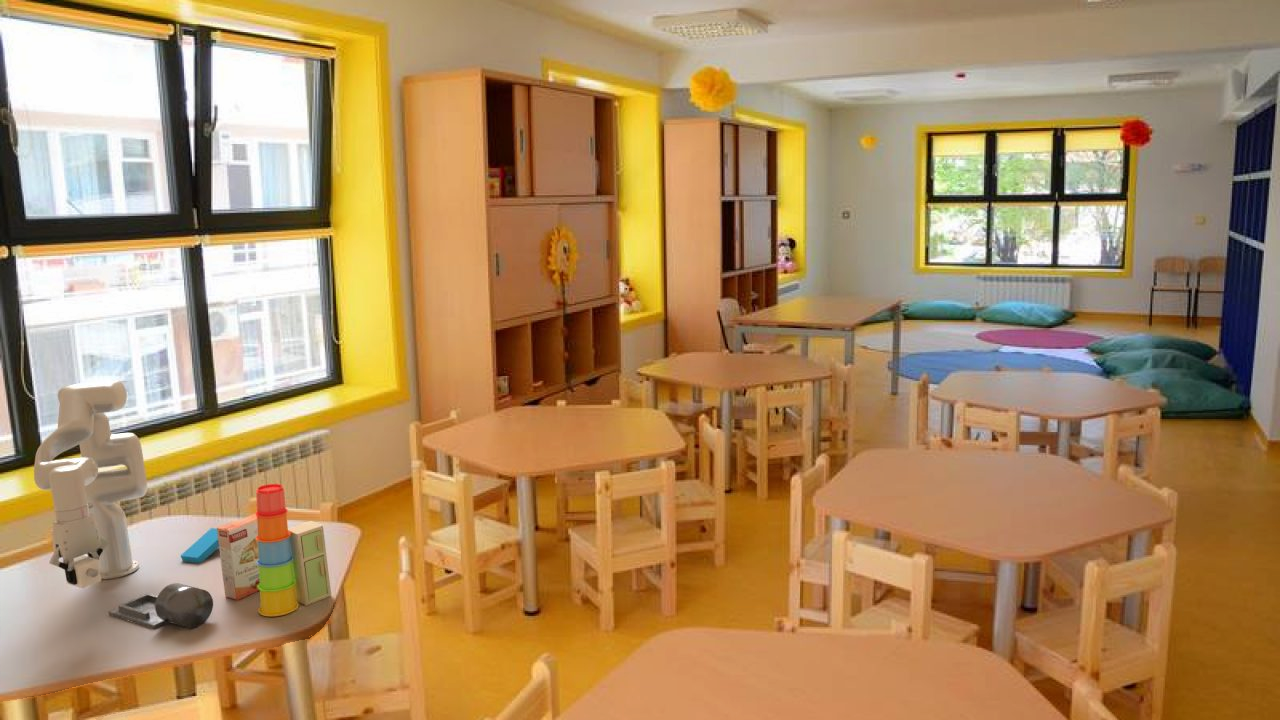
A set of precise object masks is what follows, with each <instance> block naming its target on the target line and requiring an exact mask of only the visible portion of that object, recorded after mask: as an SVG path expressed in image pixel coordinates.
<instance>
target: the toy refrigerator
mask: <svg viewBox="0 0 1280 720" xmlns="http://www.w3.org/2000/svg"><path fill="white" fill-rule="evenodd" d="M288 532H290V537H289V542H290V553H291V555H292V556H293V560H292V571H293V578H294V579H295V580H296V584H295V585H294V589H295V599H296V601H297V602H298V603H300V604H302V605H304V606H309V605H312V604H314V603H317V602H319V601H322V600H324V599H327V598H329V597H331V596H332V589H331V581H330V575H329V574H330V572H329V566H328V565H329V564H328V557H327V556H328V555H327V548H326V540H325V534H324V533H325V532H324V527H323V524H320V523H318V522H315V521H313V520H310V521H305V522H302V523H300V524H297V525H293V526H290V527H288ZM311 603H312V604H311Z"/></svg>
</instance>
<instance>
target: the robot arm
mask: <svg viewBox="0 0 1280 720" xmlns="http://www.w3.org/2000/svg"><path fill="white" fill-rule="evenodd" d="M127 398H128V397H127V390H126V387H125V385H124V383H123V382H121V381H120V380H118V379H116V380H115V379H113V380H105V381H95V382H94V381H93V382H82V383H75V384H70V385H65V386H63V387H61V388H60V389H58V391H57V400H58V403H59V407H58V418H57V429H56V430H54V431H52V432H51V434H50V435H48V436H47V437H46V438H45V439H44V440H43V441H42V443H41V444H40V445H39V447H38V448H37V451H36V453H35V457H34V458H35V459H34V466H33V467H34V469H33V480H34V484H35V485H36V486H37V488H38V489H40V490H42V491H43V490H44V491H51V497H52V503H53V508H54V509H53V510H54V514H55V521H53V522H52V531H51V533H52V534H51V535H52V536H51V537H52V548H53V549H52V550H53V554H52V556H51V558H50V560H49V564H50V565H52V566H56V567H58V568H60V569H62V570H64V573H65V574H66V575H65V579H66V580H67V581H66V583H67V582H68V583H70V584H74V585H76V584H77V579H76V573H75V570H74V569H73V562H74V558H76V557H79V556H82V555H84V556H86V555H87V557H91V558H94V559H98V564H99V570H100V576H101V580H110V579H116V578H120V577H125V576H127V575H129V574H131V573H133V572H136V570H138V569H139V567H140V563H139V561H137V560H135V559H133V556H132V549H131V548H132V547H131V542H130V538H129V537H130V535H129V529H128V525H127V524H128V523H127V517H126V514H125V511H124V509H123V508H121V507H120V505H119V504H117V503H116V502H123V501H128V500H135V499H139V498H142V497H144V496H145V495H146V494H147V492H148V480H147V474H146V468H145V461H144V456H143V448H142V444H141V442H140V441H141V440H140V439H139V437H138V436H137V435H136V434H135V433H134V432H122V433H116V434H113V433H112V432H111V431H112V430H111V427H110V420H109V417H108V416H107V414H105V413H110V412H116V411H117V412H118V411H119V410H121V409H122V408H124V407H125V405H126V404H127V403H126V402H127ZM76 446H79V449H80V455H81V456H78V457H71V458H63V459H62V458H61V459H60V458H59V459H55V458H56V457H57V456H59V455H60V454H62V453H64V452H66V451H68V450H70V449H73V448H75V447H76ZM116 466H125V468H118V469H110V470H103V471H99V469H102V468H103V469H104V468H109V467H110V468H111V467H116ZM61 558H62V561H60V560H59V559H61ZM70 584H69V585H70Z"/></svg>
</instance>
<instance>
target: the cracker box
mask: <svg viewBox="0 0 1280 720" xmlns="http://www.w3.org/2000/svg"><path fill="white" fill-rule="evenodd" d="M255 514H256V513H253V514H251V515H248V516H245V517H242V518H240V519H237V520H234V521H232V522H229V523H227V524H223V525H220V526H218V527H216V529H217V534H218V542H219V547H218V549H219V557H220V558H219V559H220V565H221V573H222V579H223V589H224V595H225V598H226V597H227V598H230V599H231V600H232V599H233V600H235V601H239V600H241V599H242V598H245V597H248V596H250V595H252V594H254V593H257V592H260V590H259V589H258V584H259V583H260V577H259V565H258V564H257V561H258V560H259V551H258V541H257V540H256V537H257V536H258V525H257V516H256V515H255Z"/></svg>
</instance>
